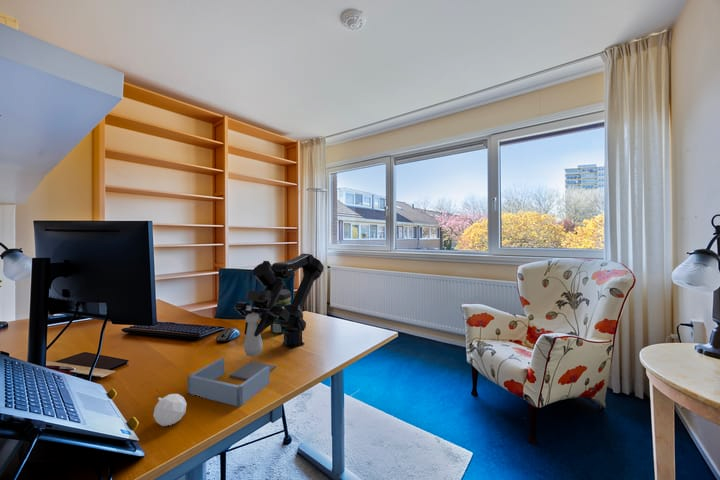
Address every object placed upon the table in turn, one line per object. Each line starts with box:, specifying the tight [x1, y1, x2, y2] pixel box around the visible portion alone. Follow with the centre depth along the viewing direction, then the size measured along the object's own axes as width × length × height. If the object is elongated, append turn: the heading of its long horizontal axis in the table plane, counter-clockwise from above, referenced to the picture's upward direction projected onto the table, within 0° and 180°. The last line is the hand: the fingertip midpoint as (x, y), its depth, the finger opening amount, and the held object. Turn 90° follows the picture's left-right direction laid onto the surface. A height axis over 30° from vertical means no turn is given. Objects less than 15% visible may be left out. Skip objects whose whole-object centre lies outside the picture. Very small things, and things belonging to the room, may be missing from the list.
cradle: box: [187, 357, 270, 408], centre depth 85 cm, size 12×18×5 cm
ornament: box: [152, 393, 188, 427], centre depth 70 cm, size 6×7×7 cm
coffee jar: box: [269, 288, 292, 334], centre depth 133 cm, size 10×8×19 cm
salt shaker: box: [243, 313, 264, 357], centre depth 94 cm, size 6×6×13 cm
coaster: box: [229, 360, 277, 381], centre depth 95 cm, size 10×10×1 cm
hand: (250, 335), depth 93 cm, fingers closed on salt shaker, 3 cm apart
